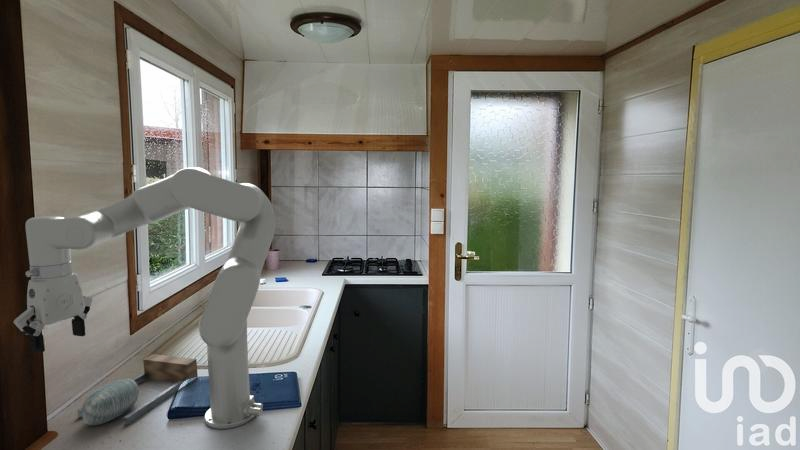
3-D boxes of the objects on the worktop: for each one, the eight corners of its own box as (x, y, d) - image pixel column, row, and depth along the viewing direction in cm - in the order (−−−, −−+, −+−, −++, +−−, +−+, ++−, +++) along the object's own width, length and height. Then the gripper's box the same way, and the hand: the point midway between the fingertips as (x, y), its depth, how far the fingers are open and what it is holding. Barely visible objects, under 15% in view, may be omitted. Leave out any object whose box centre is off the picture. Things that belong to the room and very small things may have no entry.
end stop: (197, 377, 139) (196, 359, 138) (188, 384, 135) (187, 364, 134) (154, 372, 142) (153, 354, 142) (144, 378, 139) (143, 359, 138)
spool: (121, 385, 127) (122, 362, 122) (146, 405, 125) (149, 382, 120) (71, 421, 116) (70, 397, 111) (99, 443, 114) (99, 419, 109)
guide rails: (188, 384, 135) (188, 377, 135) (128, 425, 114) (127, 418, 113) (144, 378, 139) (144, 372, 138) (78, 417, 117) (77, 410, 117)
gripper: (23, 281, 95) (33, 360, 97) (99, 263, 111) (105, 331, 113) (-3, 279, 97) (7, 356, 99) (75, 262, 113) (81, 328, 115)
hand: (59, 343), depth 106 cm, fingers open, 9 cm apart
